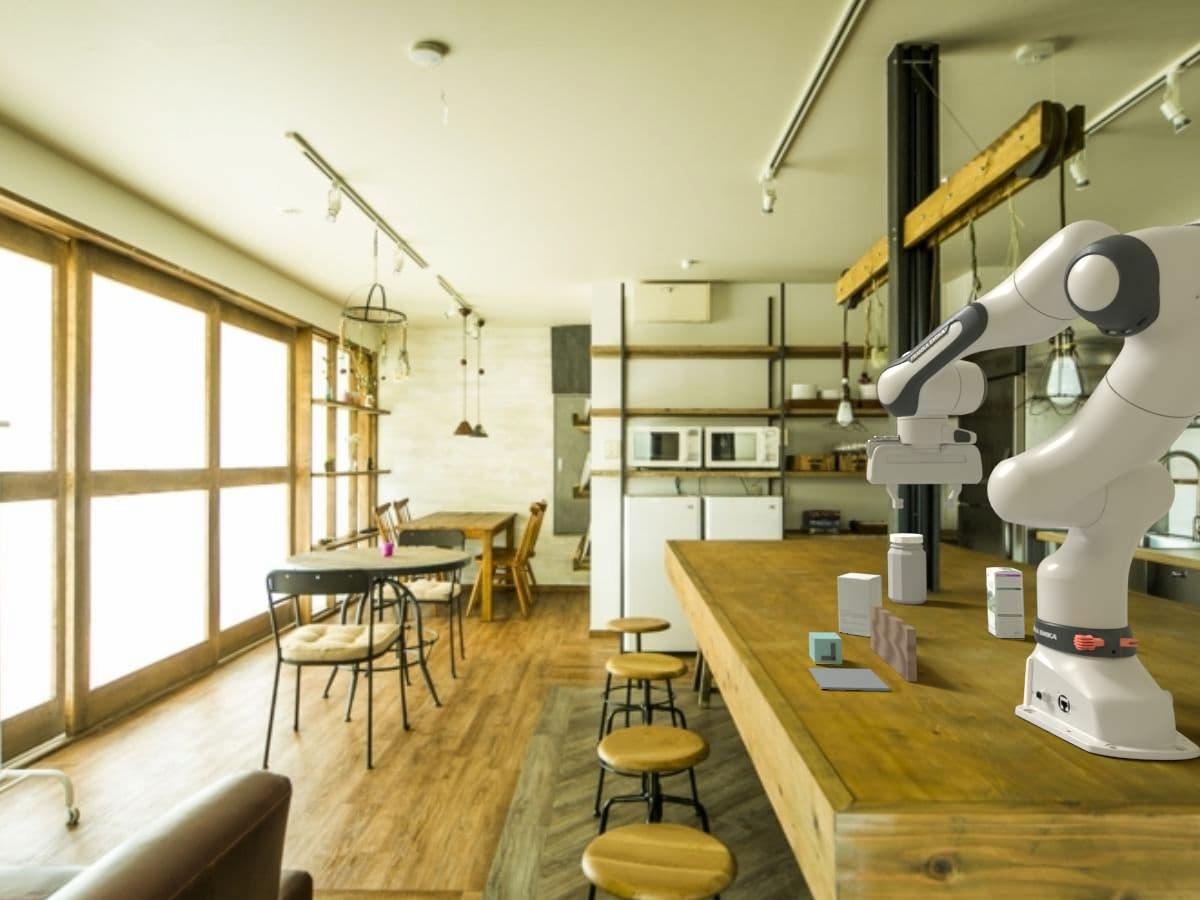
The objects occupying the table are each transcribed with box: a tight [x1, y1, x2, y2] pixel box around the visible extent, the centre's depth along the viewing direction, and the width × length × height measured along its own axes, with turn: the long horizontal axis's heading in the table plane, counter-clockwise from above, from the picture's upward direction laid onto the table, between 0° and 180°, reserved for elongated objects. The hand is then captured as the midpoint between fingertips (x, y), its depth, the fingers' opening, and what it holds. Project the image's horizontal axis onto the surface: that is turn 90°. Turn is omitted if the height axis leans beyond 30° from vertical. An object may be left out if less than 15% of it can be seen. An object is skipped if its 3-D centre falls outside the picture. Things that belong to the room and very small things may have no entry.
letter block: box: [808, 631, 843, 665], centre depth 135 cm, size 5×5×5 cm
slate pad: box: [807, 667, 891, 692], centre depth 123 cm, size 11×11×1 cm
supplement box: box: [836, 572, 883, 638], centre depth 158 cm, size 7×7×13 cm
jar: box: [887, 532, 928, 605], centre depth 192 cm, size 10×10×18 cm
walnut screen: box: [870, 604, 918, 683], centre depth 133 cm, size 22×2×9 cm, turn 175°
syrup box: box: [985, 566, 1026, 639], centre depth 154 cm, size 6×6×14 cm
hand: (923, 508), depth 134 cm, fingers open, 8 cm apart
